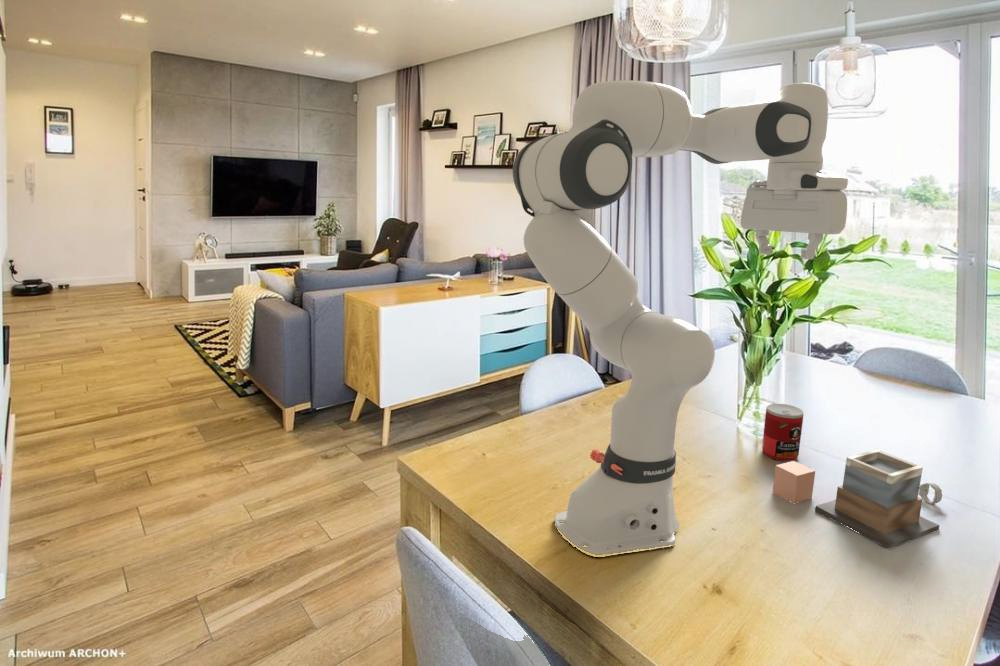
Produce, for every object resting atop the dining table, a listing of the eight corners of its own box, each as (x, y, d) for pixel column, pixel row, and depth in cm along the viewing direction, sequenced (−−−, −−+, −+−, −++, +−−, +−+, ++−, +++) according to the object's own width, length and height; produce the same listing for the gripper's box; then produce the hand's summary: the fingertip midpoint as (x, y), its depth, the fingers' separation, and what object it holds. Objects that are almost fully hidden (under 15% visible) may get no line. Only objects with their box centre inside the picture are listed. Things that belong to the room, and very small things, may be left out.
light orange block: (793, 504, 117) (797, 475, 115) (772, 492, 121) (775, 465, 120) (811, 499, 119) (815, 470, 117) (790, 488, 123) (793, 460, 122)
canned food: (777, 463, 134) (783, 417, 132) (754, 449, 142) (758, 405, 139) (806, 459, 136) (812, 413, 134) (781, 445, 144) (786, 402, 141)
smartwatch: (942, 506, 116) (945, 487, 115) (933, 507, 115) (936, 488, 114) (925, 497, 119) (928, 479, 118) (916, 499, 119) (919, 480, 118)
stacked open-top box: (888, 549, 102) (898, 486, 99) (815, 510, 114) (822, 454, 112) (938, 530, 108) (949, 470, 105) (863, 495, 120) (871, 441, 117)
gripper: (736, 180, 117) (730, 252, 120) (831, 178, 99) (821, 262, 102) (760, 181, 120) (753, 251, 123) (857, 179, 102) (846, 261, 105)
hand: (785, 256), depth 112 cm, fingers open, 8 cm apart
